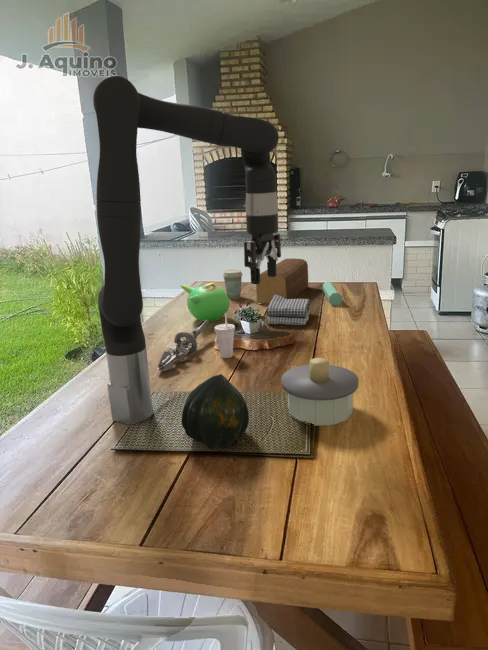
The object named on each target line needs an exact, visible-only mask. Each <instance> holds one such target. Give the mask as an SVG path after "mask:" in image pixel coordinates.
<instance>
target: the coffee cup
mask: <svg viewBox="0 0 488 650" xmlns="http://www.w3.org/2000/svg"><path fill="white" fill-rule="evenodd" d="M222 277H223V280H224V285H225V286H224V287H225V292H226V294H227V296H228V298H229V300H238V299H241V293H242V277H243V273H242V270H241V269H227V270H224V271H223V276H222Z"/></svg>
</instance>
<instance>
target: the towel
mask: <svg viewBox="0 0 488 650" xmlns="http://www.w3.org/2000/svg"><path fill="white" fill-rule="evenodd" d="M310 306H311V304H310V298H295V299H286V298H283V297H281V296H278V295H274V297H273V299H272V300H271V302H270V304H269V305H267V310H266V316H267V321H266V322H267V324H268V325H277V324H285V326H287V325H288V326H289V325H290V326H306V325H307V322H308V320H309V318H310V316H309V315H310V313H311V309H310Z"/></svg>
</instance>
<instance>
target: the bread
mask: <svg viewBox="0 0 488 650" xmlns="http://www.w3.org/2000/svg"><path fill="white" fill-rule="evenodd" d="M308 267H309V265H308V262H307V260H305V259H303V258H284V259H282V260H281V261H279V262H276V271H277V275H276V276H275V277H269V276H268V273H267V269H266V270H264V271H263V272H260V284H255V285H256V287H255V292H256V303H257V304H258V303H261V304H260V305H268V304H270V302H271V300H272V299H273V297H274V295H278V296H281V297H283V298H286V299H297V297H299V295H300V294H302V293H303V292H304V291H305V290H306V289H307V288H308V287H309V268H308Z"/></svg>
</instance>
